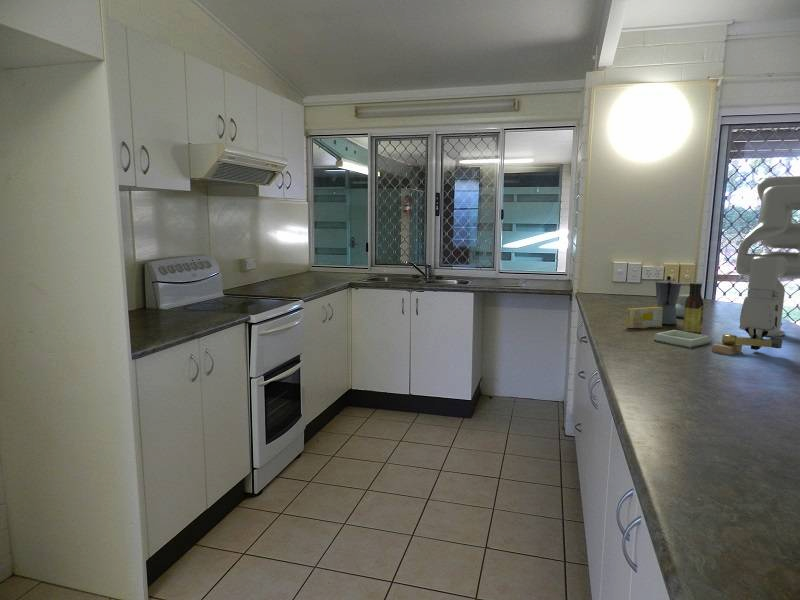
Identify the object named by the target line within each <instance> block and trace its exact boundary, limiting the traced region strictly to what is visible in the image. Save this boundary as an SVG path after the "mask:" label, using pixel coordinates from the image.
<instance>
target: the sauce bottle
mask: <svg viewBox="0 0 800 600" xmlns="http://www.w3.org/2000/svg"><path fill="white" fill-rule="evenodd" d="M702 285H703V283H702V282H689V294H688V295H689V296H688V298H687V299H686V301H685V310H684V318H683V324H682V325H683V327H682V331H683V332H689V333H695V334H700V335H702V331H703V318H704V307H705V305H704V301H703V298H702V293H701V292H702Z"/></svg>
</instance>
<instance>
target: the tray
mask: <svg viewBox="0 0 800 600" xmlns="http://www.w3.org/2000/svg"><path fill="white" fill-rule="evenodd" d="M683 331H684V330H677V329H672V330H667V331H662V332H661V331H660V332H658V333H656V332H655V333H654V340H656V341H655V342H659V341H660V342H659V343H664V342H665V344H670V345H673V346H674V345H675V346H680V347H686V348H695V347H700V346H704V345H708V344H710V340H711V336H710V335H705V334H701V335H700V334H695V333H689V332H683ZM654 340H653V341H654Z"/></svg>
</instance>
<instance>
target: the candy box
mask: <svg viewBox="0 0 800 600" xmlns="http://www.w3.org/2000/svg"><path fill="white" fill-rule="evenodd" d="M662 311H663V307H657V306H653V307H638V308H637V307H635V308H627V310H626V312H627V313H626V317H627V318H626V329H627V328H641V329H648V328H647V327H656V328H662V327H663V324H662Z"/></svg>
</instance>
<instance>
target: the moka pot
mask: <svg viewBox="0 0 800 600" xmlns="http://www.w3.org/2000/svg"><path fill="white" fill-rule="evenodd" d="M666 278H667V279H665V280H659V281H658V280H657V281H655V297H656V301H657V302H656V303H657V304H656V307H663V311H662V325H676V324H677V323H678V322H677V316H676V306H675V305H676V304H677V302H678V298H679V295H680V291H681V287H682V283H680V282H677V281H675V280H671V278H672V276H670V275H668V276H666Z"/></svg>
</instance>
